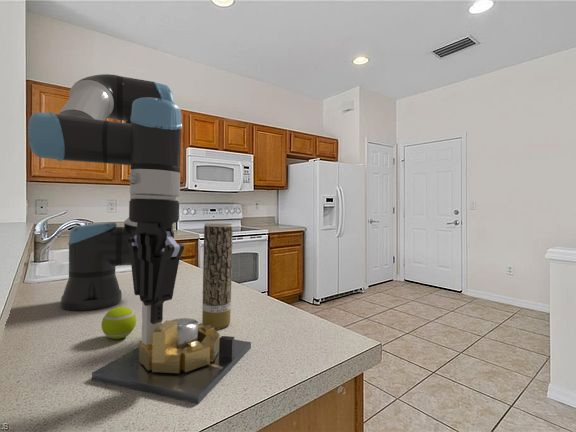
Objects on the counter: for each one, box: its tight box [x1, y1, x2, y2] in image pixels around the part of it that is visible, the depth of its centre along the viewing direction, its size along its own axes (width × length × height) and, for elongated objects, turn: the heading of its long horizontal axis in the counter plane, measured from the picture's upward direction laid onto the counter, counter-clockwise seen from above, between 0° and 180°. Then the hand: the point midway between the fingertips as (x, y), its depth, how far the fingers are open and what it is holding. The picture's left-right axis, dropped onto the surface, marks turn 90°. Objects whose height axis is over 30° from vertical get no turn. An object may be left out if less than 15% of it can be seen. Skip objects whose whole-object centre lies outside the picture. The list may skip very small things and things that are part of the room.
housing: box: [91, 317, 252, 405], centre depth 60 cm, size 20×20×7 cm
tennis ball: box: [101, 306, 137, 340], centre depth 70 cm, size 7×7×7 cm
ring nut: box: [138, 320, 221, 373], centre depth 58 cm, size 16×13×8 cm
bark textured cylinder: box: [201, 222, 234, 330], centre depth 78 cm, size 7×7×25 cm
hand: (151, 340), depth 53 cm, fingers closed
